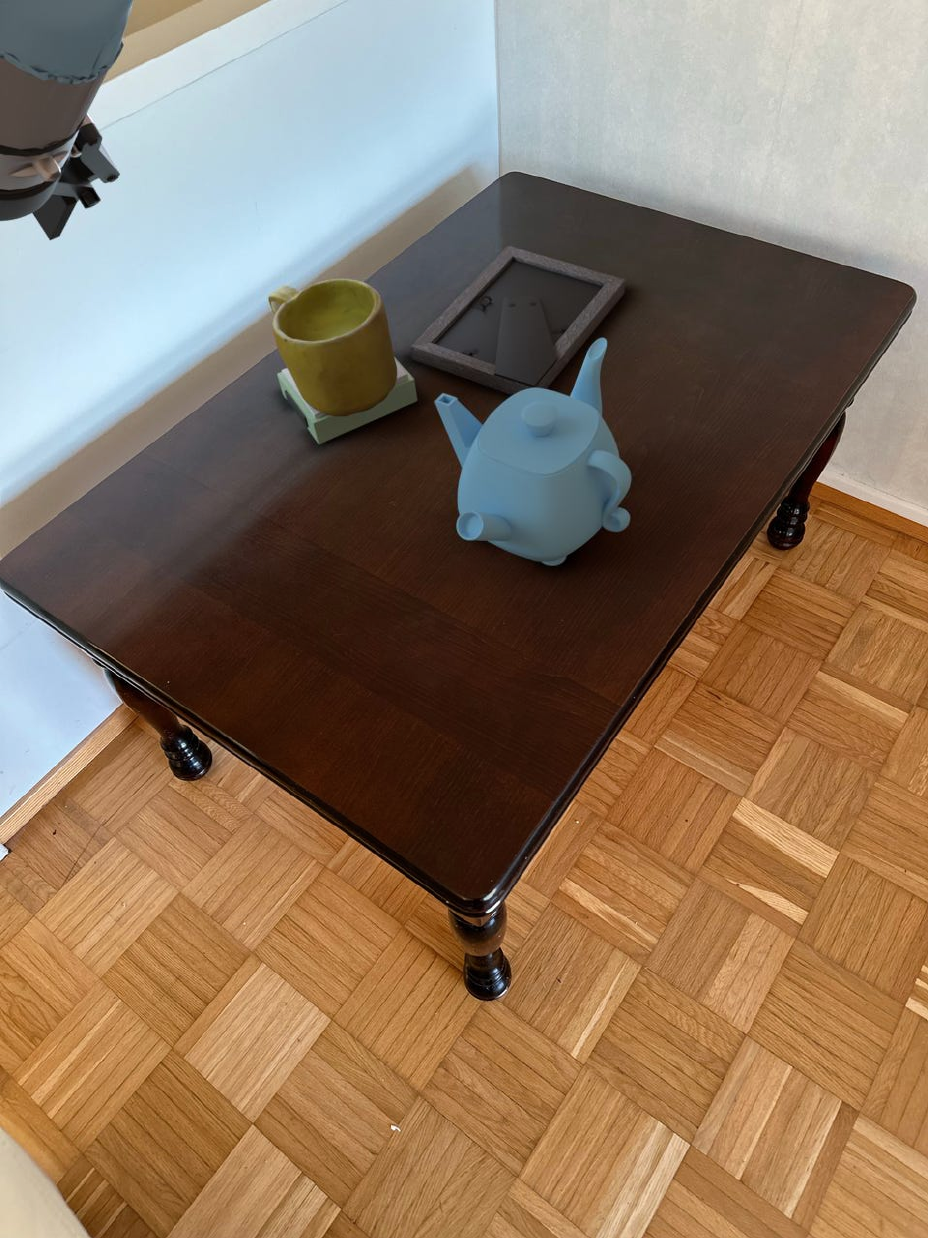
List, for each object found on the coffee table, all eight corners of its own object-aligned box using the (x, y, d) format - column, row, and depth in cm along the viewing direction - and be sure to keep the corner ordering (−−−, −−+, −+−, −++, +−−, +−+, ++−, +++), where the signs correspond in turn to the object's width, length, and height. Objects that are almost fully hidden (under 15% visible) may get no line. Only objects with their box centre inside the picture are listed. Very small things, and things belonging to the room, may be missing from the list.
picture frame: (534, 403, 81) (624, 293, 90) (534, 385, 80) (625, 275, 88) (412, 359, 86) (508, 258, 94) (409, 342, 84) (507, 241, 93)
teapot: (441, 464, 78) (427, 357, 68) (598, 440, 78) (605, 330, 69) (466, 606, 69) (455, 505, 60) (644, 578, 69) (659, 473, 60)
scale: (317, 445, 80) (310, 420, 78) (281, 395, 84) (273, 370, 82) (417, 400, 83) (413, 374, 80) (377, 354, 87) (373, 328, 84)
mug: (440, 371, 77) (382, 279, 70) (350, 451, 77) (282, 366, 70) (377, 324, 85) (318, 237, 78) (295, 396, 85) (229, 315, 78)
